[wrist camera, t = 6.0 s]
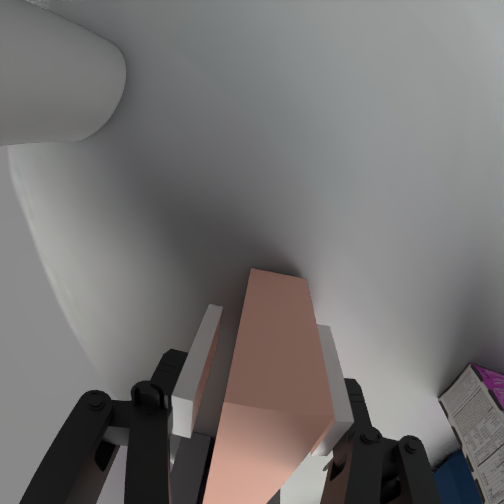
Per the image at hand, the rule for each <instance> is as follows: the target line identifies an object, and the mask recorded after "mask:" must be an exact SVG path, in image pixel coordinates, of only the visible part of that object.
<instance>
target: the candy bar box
mask: <svg viewBox="0 0 504 504" xmlns="http://www.w3.org/2000/svg"><path fill="white" fill-rule="evenodd" d="M438 401H439V403H440V405H441V407H442V409H443V411H444V413H445V415H446V417H447V419H448V421H449V423H450V425H451V427H452V429H453V431H454V434H455V436H456V438H457V440H458V442H459V444H460V447H461V449H462V451H463V454H464V456H465V458H466V461H467V463H468V465H469V468H470V471H471V473H472V476H473V478H474V481H475V483H476V486H477V489H478V492H479V494H480V497H481V500H482V503H483V504H504V374H501V373H498V372H495V371H492V370H489V369H486V368H483V367H480V366H477V365H474V364H472V363H469V365H468V366H467V367H466V368H465V369H464V370H463V371H462V372H461V373H460V375H459V376H458V377H457V379H456V380H455V381H454V382H453V383H452V384H451V386H450V387H449V388H448V389H447V390H446V391H445V392H444V393H443V394H442V395H441V397H440V398H439V399H438Z"/></svg>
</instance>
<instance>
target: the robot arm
mask: <svg viewBox="0 0 504 504" xmlns="http://www.w3.org/2000/svg"><path fill="white" fill-rule="evenodd" d="M222 311H223V307H222V306H217V305H213V304H209V305H208V308H207V310H206V313H205V315H204V317H203V320H202V322H201V325H200V327H199V329H198V332H197V334H196V337H195V339H194V342H193V344H192V346H191V349H190V351H189V353H186V352H182V351H178V350H175V349H170V350H169V351H167V352H166V353H165V354H163V356H162V358H161V360H160V362H159V364H158V366H157V368H156V370H155V372H154V374H153V376H152V378H151V380H150V381H141V382H138V383H136V384H135V385H134V386H133V387H132V389H131V391H130V392H131V398H132V400H131V401H119V400H111V398H110V397H109V395H108V394H106V393H105V392H103V391H99V390H91V391H88V392H86V393H84V394H83V395H82V396H81V398H80V399H79V401H78V402H77V404H76V405H75V407H74V409H73V410H72V412H71V413H70V415H69V417H68V418H67V420H66V421H65V423H64V425H63V426H62V428H61V430H60V431H59V433H58V434H57V436H56V438H55V439H54V441H53V443H52V444H51V446H50V448H49V450H48V451H47V453H46V455H45V456H44V458H43V460H42V462H41V464H40V465H39V467H38V469H37V471H36V472H35V474H34V476H33V478H32V480H31V482H30V484H29V486H28V488H27V489H26V492H25V493H24V495H23V497H22V499H21V501H20V503H19V504H96V502H97V500H98V497H99V495H100V493H101V490H102V487H103V485H104V482H105V480H106V478H107V475H108V473H109V471H110V468H111V466H112V464H113V461H114V459H115V457H116V454H117V452H118V450H119V448H120V445H124V446H128V450H127V461H126V475H125V476H126V477H125V494H124V504H172V498H171V477H170V435H171V432H173V434H176V435H179V436H183V437H187V438H191V435H192V431H193V428H194V424H195V421H196V417H197V414H198V410H199V407H200V403H201V400H202V396H203V393H204V389H205V386H206V382H207V379H208V375H209V372H210V368H211V365H212V362H213V358H214V355H215V351H216V348H217V343H218V337H219V330H220V324H221V318H222ZM317 328H318V333H319V338H320V342H321V347H322V352H323V357H324V362H325V367H326V372H327V377H328V382H329V387H330V393H331V398H332V404H333V409H334V415H335V416H334V417H333V419H332V420H331V422H330V423H329V425H328V426H327V428H326V429H325V431H324V432H323V433H322V435H321V436H320V438H319V439H318V441H317V442H316V443H315V445H314V446H313V448H312V449H311V455H314V456H328V454H329V453H330V452H331V451H332V450H333V458H332V459H331V460H330V462H329V463H328V464H327V465H326V466H325V467H324V469H323V471H326V470H327V469H328V472H327V477H326V481H325V486H324V490H323V494H322V498H321V502H320V504H441V501H440V497H439V493H438V490H437V486H436V483H435V480H434V476H433V473H432V470H431V467H430V463H429V460H428V457H427V454H426V451H425V448H424V446H423V444H422V442H421V440H419V439H418V438H417V437H415V436H411V435H407V436H404V437H403V438H402V439H400V440H399V441H396V440H392V439H387V438H384V437H382V434H381V433H380V431H379V430H377V429H376V428H375V427H372V425H371V421H370V417H369V414H368V410H367V407H366V403H365V400H364V396H363V393H362V390H361V386H360V385H359V384H358V383H357V381H356V380H355V379H348V378H344V377H343V373H342V370H341V366H340V362H339V358H338V354H337V351H336V347H335V343H334V340H333V336H332V333H331V329H330V326H325V325H319V324H317Z"/></svg>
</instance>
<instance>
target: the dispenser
mask: <svg viewBox="0 0 504 504" xmlns="http://www.w3.org/2000/svg"><path fill="white" fill-rule="evenodd" d="M210 439H211V436H207V435H202V434H198V433H194V432H192V435H191V438H187V437H183V436H182V438H181V442H180V445H179V448H178V451H177V455H176V458H175V461H174V464H173V468H172V471H171V474H170V477H171V498H172V504H202V503H203V498H204V493H205V488H206V484H207V479H208V474H209V469H207V468H206V462H207V456H208V450H209V445H210ZM266 504H280V489H279V490H278V491H277V492H276V493H275V494H274V496H273V497H272V498H271V499H270V500H269V501H268V502H267V503H266Z"/></svg>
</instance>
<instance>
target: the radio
mask: <svg viewBox="0 0 504 504" xmlns="http://www.w3.org/2000/svg"><path fill="white" fill-rule="evenodd" d="M433 476H434V480H435V483H436V486H437V490H438V493H439V497H440V501H441V504H483V503H482V500H481V497H480V494H479V492H478V489H477V486H476V483H475V481H474V478H473V476H472V473H471V471H470V468H469V465H468V463H467V461H466V458H465V456H464V454H463V451H462V449H461V450H458V451H456V452H455V453H454V454H453V455H452V456H451V457H450V458H448V459H447V460H446V461H445V462H444V463H443V464H442V465H441V466H440V467H439V468H438V469H437V470H436V471H435V472H433Z"/></svg>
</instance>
